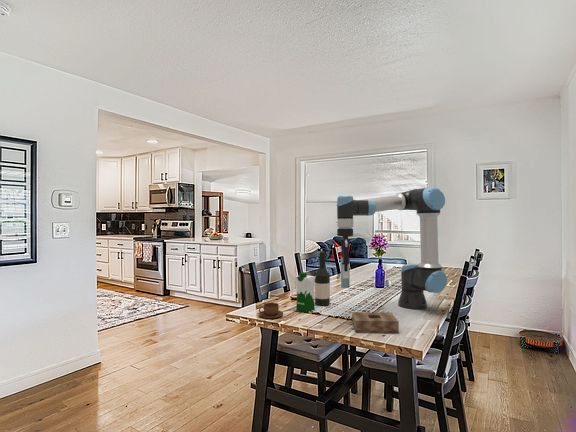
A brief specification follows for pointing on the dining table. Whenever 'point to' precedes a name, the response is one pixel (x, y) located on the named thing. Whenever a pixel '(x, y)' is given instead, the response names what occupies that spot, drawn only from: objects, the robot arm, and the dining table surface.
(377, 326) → the block
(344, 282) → the pin
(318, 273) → the wine bottle
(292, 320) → the dining table surface
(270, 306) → the cup and saucer
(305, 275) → the milk carton
